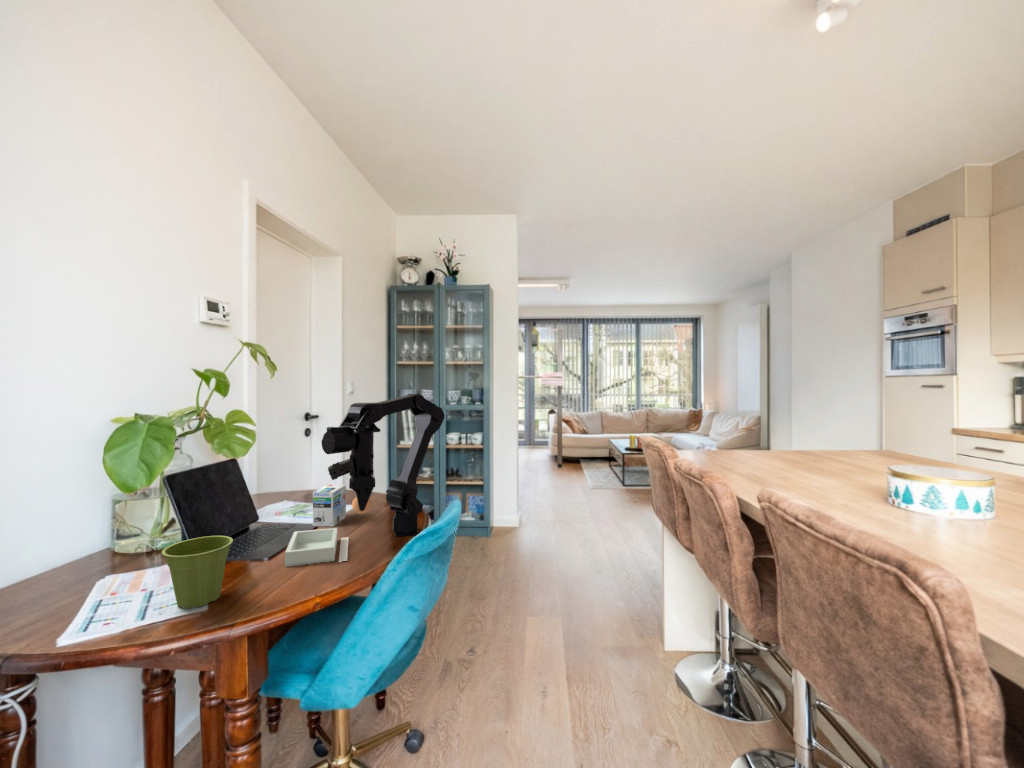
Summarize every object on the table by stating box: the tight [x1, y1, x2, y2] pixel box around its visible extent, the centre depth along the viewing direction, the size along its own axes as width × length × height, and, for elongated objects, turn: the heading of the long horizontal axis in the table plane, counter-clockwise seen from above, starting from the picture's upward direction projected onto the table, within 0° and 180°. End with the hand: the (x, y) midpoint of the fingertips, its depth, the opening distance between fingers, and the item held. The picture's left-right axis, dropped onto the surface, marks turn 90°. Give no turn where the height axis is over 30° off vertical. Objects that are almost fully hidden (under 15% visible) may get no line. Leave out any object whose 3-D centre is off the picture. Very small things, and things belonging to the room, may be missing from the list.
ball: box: [351, 496, 373, 515], centre depth 121 cm, size 5×5×5 cm
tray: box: [284, 527, 338, 568], centre depth 118 cm, size 11×16×4 cm
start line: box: [338, 536, 350, 563], centre depth 120 cm, size 2×18×1 cm, turn 19°
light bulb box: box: [312, 484, 347, 528], centre depth 144 cm, size 11×7×11 cm, turn 179°
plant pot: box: [161, 535, 234, 609], centre depth 91 cm, size 12×12×11 cm
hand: (361, 507), depth 121 cm, fingers closed on ball, 5 cm apart
